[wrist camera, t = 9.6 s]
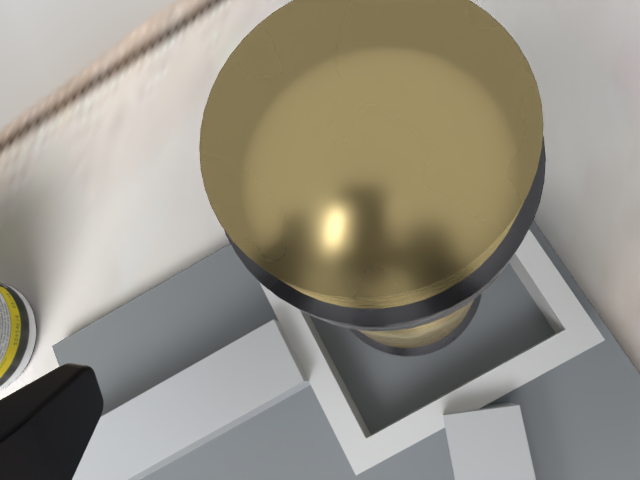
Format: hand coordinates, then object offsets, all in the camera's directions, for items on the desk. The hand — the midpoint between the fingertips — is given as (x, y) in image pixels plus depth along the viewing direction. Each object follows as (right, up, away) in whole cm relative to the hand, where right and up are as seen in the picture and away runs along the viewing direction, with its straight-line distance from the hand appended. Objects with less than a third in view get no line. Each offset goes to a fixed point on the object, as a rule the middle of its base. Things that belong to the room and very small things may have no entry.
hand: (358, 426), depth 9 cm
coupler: (+3, +1, +11) cm, 12 cm away
